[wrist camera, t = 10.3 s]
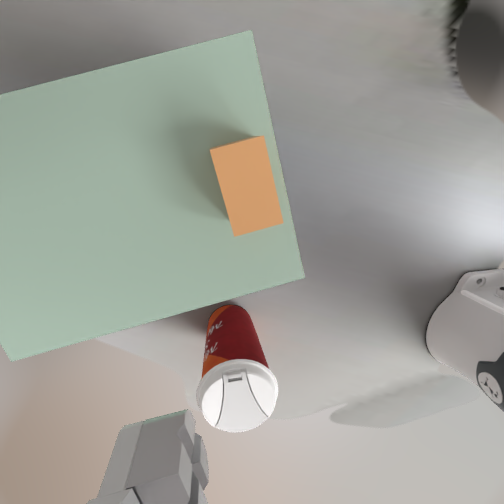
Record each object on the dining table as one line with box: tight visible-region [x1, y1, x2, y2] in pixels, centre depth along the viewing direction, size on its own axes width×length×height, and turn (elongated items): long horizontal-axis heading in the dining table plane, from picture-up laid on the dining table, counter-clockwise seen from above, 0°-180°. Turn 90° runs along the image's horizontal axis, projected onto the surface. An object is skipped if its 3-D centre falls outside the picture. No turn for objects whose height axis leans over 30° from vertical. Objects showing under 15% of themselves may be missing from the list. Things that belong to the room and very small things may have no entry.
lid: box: [0, 30, 305, 362], centre depth 21 cm, size 23×17×5 cm
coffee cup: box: [196, 305, 278, 432], centre depth 39 cm, size 8×8×15 cm
